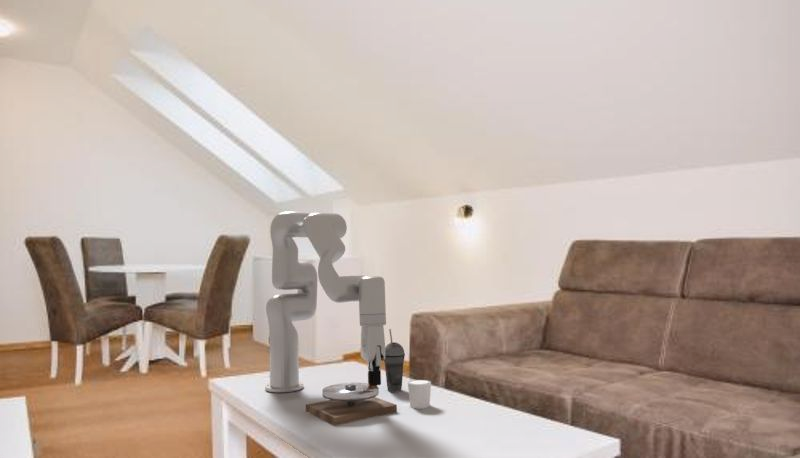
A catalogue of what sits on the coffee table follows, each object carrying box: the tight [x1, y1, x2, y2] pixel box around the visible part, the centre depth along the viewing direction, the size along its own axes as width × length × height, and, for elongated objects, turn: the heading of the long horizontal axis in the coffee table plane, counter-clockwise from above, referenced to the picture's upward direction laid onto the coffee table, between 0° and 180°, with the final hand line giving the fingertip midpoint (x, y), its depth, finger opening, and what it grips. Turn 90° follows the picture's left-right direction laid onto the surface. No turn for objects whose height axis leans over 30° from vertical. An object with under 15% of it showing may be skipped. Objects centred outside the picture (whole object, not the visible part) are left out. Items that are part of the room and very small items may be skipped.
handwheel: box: [321, 377, 380, 401], centre depth 164 cm, size 16×16×5 cm
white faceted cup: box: [407, 379, 432, 409], centre depth 169 cm, size 7×7×7 cm
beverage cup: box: [383, 328, 406, 393], centre depth 189 cm, size 7×7×20 cm
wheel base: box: [305, 396, 398, 426], centre depth 164 cm, size 17×20×5 cm
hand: (374, 384), depth 163 cm, fingers closed
